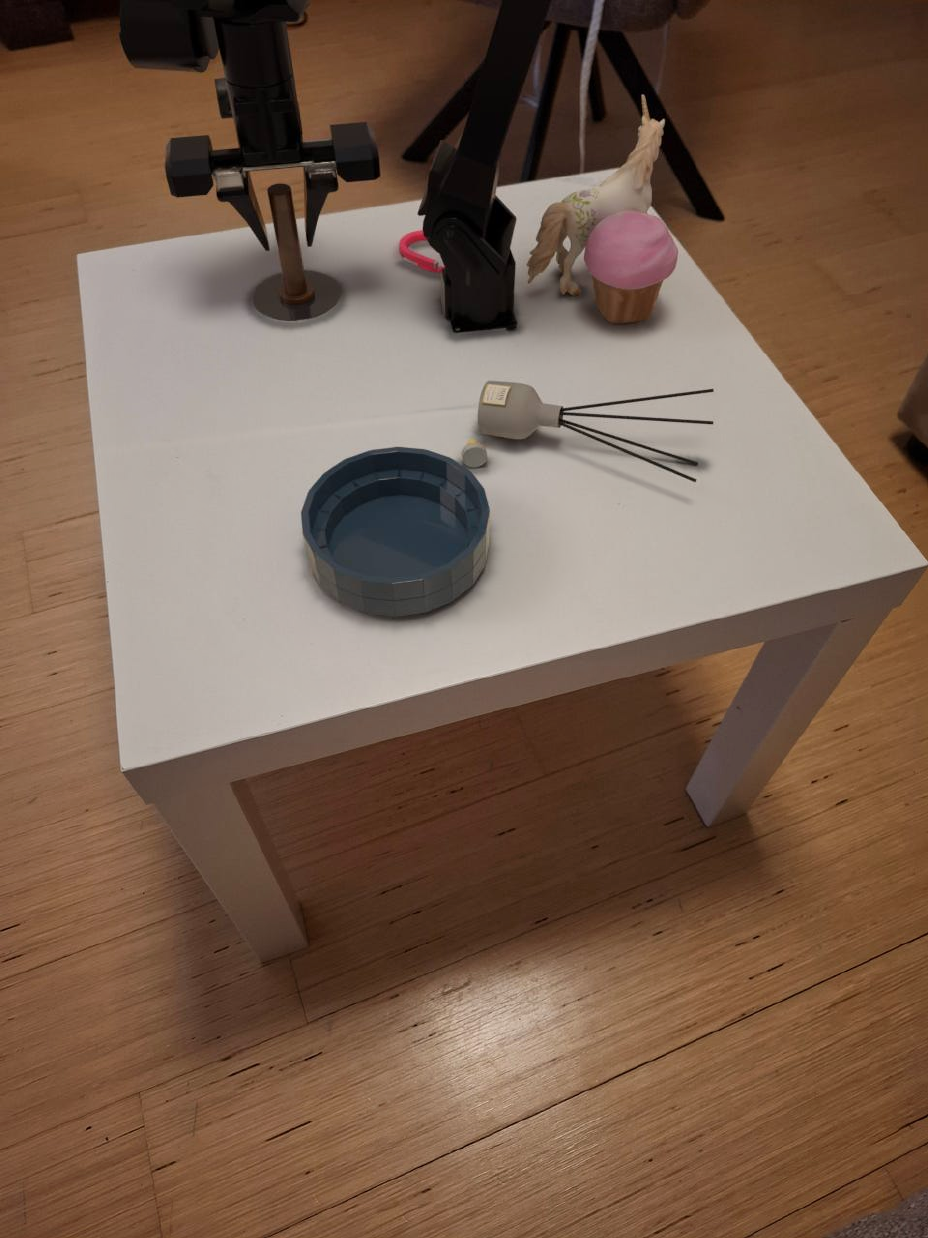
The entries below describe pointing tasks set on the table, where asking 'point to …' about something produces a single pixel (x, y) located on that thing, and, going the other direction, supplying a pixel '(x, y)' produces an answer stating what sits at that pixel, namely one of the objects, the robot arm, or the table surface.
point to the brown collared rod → (288, 246)
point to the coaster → (321, 303)
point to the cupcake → (629, 264)
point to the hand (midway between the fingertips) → (288, 246)
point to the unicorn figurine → (596, 206)
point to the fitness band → (414, 257)
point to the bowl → (396, 531)
